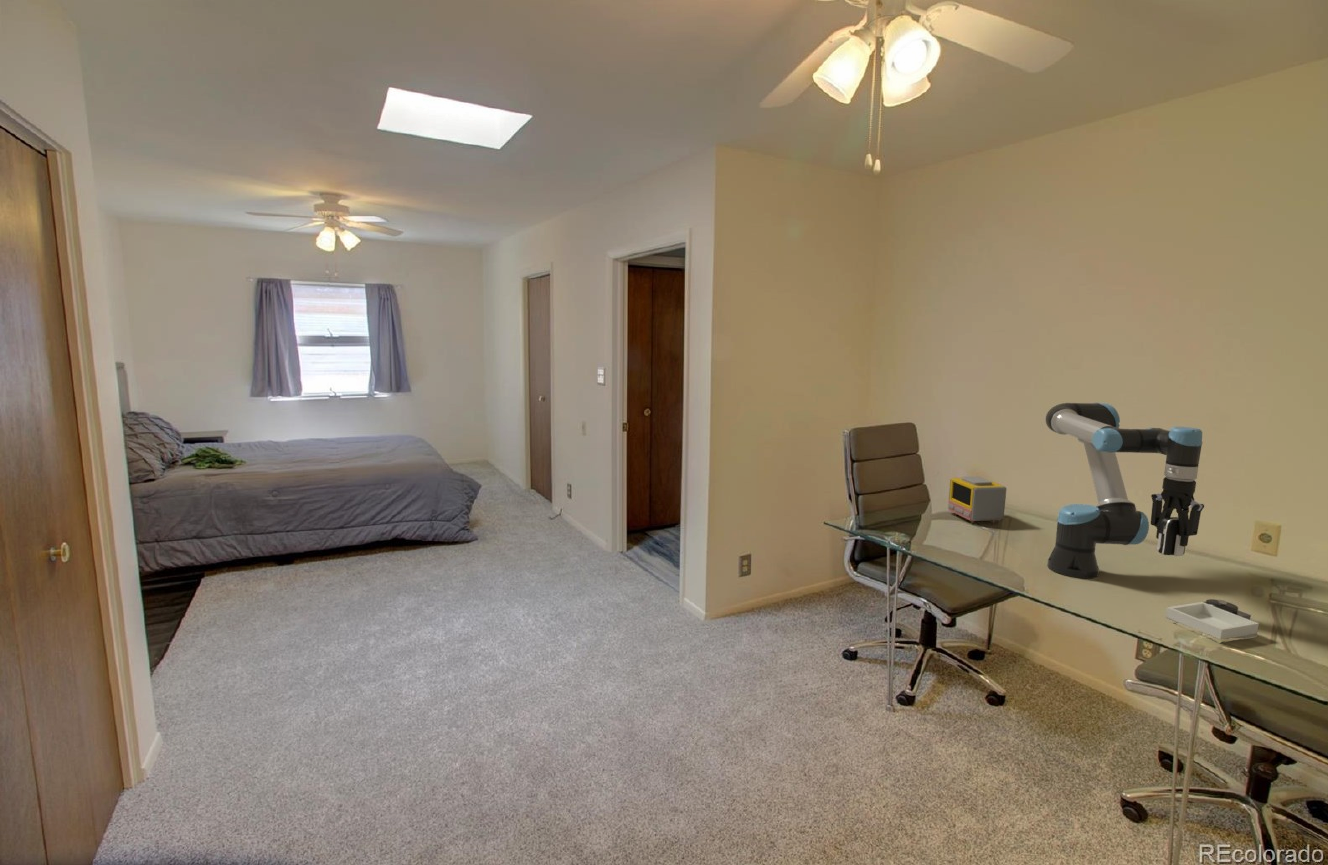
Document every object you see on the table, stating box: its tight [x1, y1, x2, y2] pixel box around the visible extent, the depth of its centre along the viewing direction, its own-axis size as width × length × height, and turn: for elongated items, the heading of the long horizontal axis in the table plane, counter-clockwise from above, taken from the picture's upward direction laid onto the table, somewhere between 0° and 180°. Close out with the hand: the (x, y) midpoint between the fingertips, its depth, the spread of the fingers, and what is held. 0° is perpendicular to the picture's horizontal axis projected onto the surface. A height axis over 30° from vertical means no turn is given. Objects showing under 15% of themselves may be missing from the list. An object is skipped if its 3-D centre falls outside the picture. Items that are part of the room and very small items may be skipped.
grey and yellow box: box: [947, 475, 1007, 524], centre depth 272 cm, size 20×16×18 cm
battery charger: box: [1157, 516, 1186, 556], centre depth 182 cm, size 7×4×11 cm, turn 96°
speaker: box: [1203, 598, 1252, 620], centre depth 177 cm, size 10×8×4 cm
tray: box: [1164, 601, 1260, 640], centre depth 170 cm, size 14×14×4 cm
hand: (1169, 552), depth 183 cm, fingers closed on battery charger, 4 cm apart
